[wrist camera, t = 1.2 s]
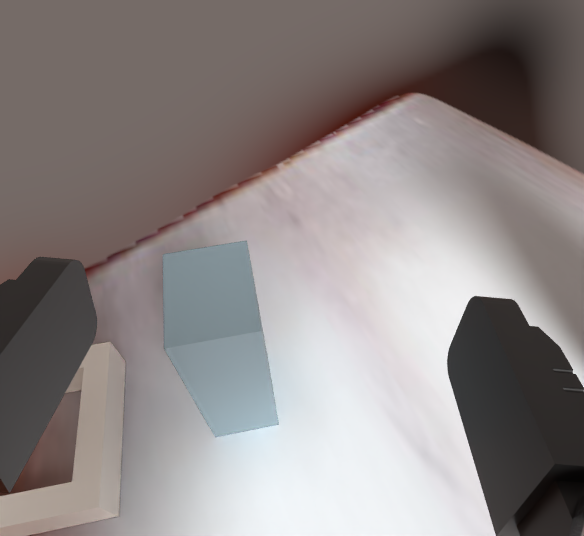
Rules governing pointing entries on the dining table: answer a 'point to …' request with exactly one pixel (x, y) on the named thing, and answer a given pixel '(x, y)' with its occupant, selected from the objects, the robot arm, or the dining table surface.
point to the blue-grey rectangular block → (218, 336)
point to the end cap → (81, 456)
